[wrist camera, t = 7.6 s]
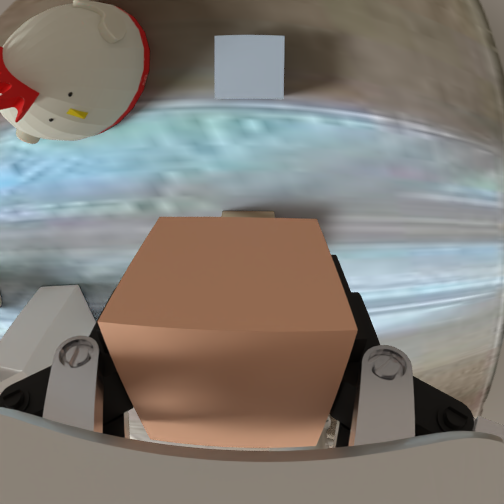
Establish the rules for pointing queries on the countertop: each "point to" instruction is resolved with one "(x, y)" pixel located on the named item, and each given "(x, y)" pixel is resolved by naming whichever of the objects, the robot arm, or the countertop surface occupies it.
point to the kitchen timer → (72, 71)
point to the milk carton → (42, 331)
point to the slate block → (249, 67)
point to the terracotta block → (231, 331)
